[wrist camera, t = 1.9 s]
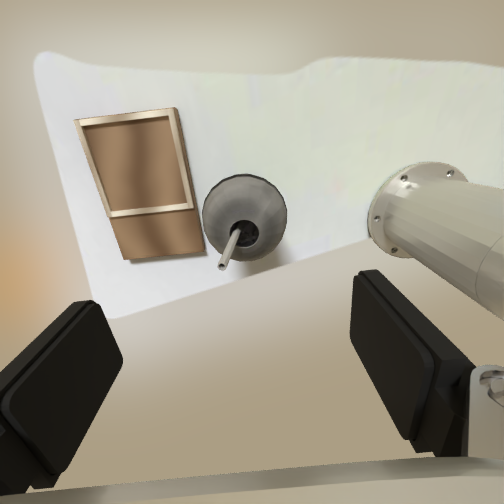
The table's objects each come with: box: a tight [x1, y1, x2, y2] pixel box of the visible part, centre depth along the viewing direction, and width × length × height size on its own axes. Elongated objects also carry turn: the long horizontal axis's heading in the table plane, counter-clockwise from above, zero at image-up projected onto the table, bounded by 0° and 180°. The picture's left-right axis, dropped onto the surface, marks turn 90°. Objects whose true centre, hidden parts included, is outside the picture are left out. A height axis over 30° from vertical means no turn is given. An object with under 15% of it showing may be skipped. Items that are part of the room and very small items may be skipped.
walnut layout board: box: [73, 107, 205, 260], centre depth 31 cm, size 11×17×2 cm, turn 6°
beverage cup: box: [202, 174, 287, 271], centre depth 23 cm, size 7×7×20 cm
